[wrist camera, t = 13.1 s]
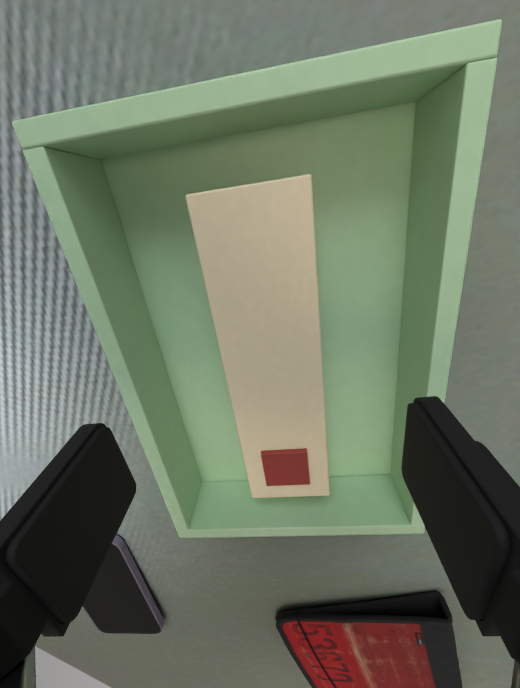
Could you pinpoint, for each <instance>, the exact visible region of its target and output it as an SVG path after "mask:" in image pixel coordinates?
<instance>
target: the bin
mask: <svg viewBox="0 0 520 688" xmlns="http://www.w3.org/2000/svg"><path fill="white" fill-rule="evenodd" d="M501 26H502V20H494V21H489V22H484V23H479V24H475V25H470V26H465V27H460V28H455V29H451V30H446V31H441V32H436V33H432V34H427V35H422V36H417V37H412V38H408V39H403V40H398V41H393V42H389V43H384V44H379V45H374V46H369V47H365V48H360V49H355V50H350V51H346V52H341V53H336V54H331V55H327V56H322V57H317V58H312V59H307V60H303V61H298V62H293V63H288V64H284V65H279V66H274V67H269V68H264V69H260V70H255V71H250V72H245V73H241V74H236V75H231V76H226V77H221V78H217V79H212V80H207V81H202V82H198V83H193V84H188V85H183V86H178V87H174V88H169V89H164V90H159V91H155V92H150V93H145V94H140V95H135V96H131V97H126V98H121V99H116V100H112V101H107V102H102V103H97V104H92V105H88V106H83V107H78V108H73V109H69V110H64V111H59V112H54V113H50V114H45V115H40V116H35V117H30V118H26V119H21V120H16V121H13V122H12V125H13V128H14V130H15V133H16V135H17V138H18V140H19V143H20V145H21V147H22V148H23V149H24V150H23V154H24V156H25V159H26V161H27V164H28V166H29V169H30V171H31V174H32V176H33V178H34V181H35V183H36V186H37V188H38V191H39V193H40V196H41V198H42V201H43V203H44V206H45V208H46V210H47V213H48V215H49V218H50V220H51V223H52V225H53V228H54V230H55V233H56V235H57V238H58V240H59V242H60V245H61V247H62V250H63V252H64V255H65V257H66V260H67V262H68V265H69V267H70V270H71V272H72V274H73V277H74V279H75V282H76V284H77V287H78V289H79V292H80V294H81V297H82V299H83V302H84V304H85V306H86V309H87V311H88V314H89V316H90V319H91V321H92V324H93V326H94V329H95V331H96V334H97V336H98V338H99V341H100V343H101V346H102V348H103V351H104V353H105V356H106V358H107V361H108V363H109V366H110V368H111V370H112V373H113V375H114V378H115V380H116V383H117V385H118V388H119V390H120V393H121V395H122V398H123V400H124V402H125V405H126V407H127V410H128V412H129V415H130V417H131V420H132V422H133V425H134V427H135V430H136V432H137V434H138V437H139V439H140V442H141V444H142V447H143V449H144V452H145V454H146V457H147V459H148V462H149V464H150V466H151V469H152V471H153V474H154V476H155V479H156V481H157V484H158V486H159V489H160V491H161V494H162V496H163V498H164V501H165V503H166V506H167V508H168V511H169V513H170V516H171V518H172V521H173V523H174V526H175V528H176V530H177V532H178V535H179V537H180V538H209V537H265V536H321V535H377V534H423V533H424V530H425V526H424V523H423V521H422V519H421V517H420V515H419V512H418V510H417V508H416V506H415V504H414V501H413V499H412V497H411V495H410V493H409V490H408V488H407V486H406V484H405V482H404V479H403V476H402V470H401V466H402V456H403V446H404V436H405V425H406V415H407V406H408V404H409V403H413V401H414V399H415V398H418V397H430V396H437V397H439V398H440V399H441V401H442V402H443V403H444V402H445V396H446V389H447V383H448V376H449V370H450V363H451V357H452V350H453V344H454V337H455V331H456V324H457V318H458V311H459V305H460V298H461V292H462V285H463V279H464V272H465V266H466V259H467V253H468V246H469V240H470V233H471V227H472V220H473V214H474V207H475V201H476V194H477V188H478V181H479V175H480V168H481V162H482V156H483V149H484V143H485V136H486V130H487V123H488V117H489V110H490V104H491V97H492V91H493V84H494V78H495V71H496V65H497V58H495V57H496V55H497V53H498V46H499V40H500V33H501ZM307 174H310V175H311V176H312V190H313V207H314V225H315V242H316V260H317V277H318V294H319V312H320V329H321V347H322V364H323V381H324V399H325V416H326V434H327V451H328V468H329V486H330V495H329V496H301V497H272V498H252V495H251V491H250V486H249V482H248V477H247V473H246V468H245V464H244V459H243V455H242V450H241V446H240V441H239V437H238V432H237V428H236V423H235V419H234V414H233V410H232V405H231V401H230V396H229V392H228V387H227V383H226V378H225V374H224V369H223V365H222V360H221V356H220V351H219V346H218V342H217V337H216V333H215V328H214V324H213V319H212V315H211V310H210V306H209V301H208V297H207V292H206V288H205V283H204V279H203V274H202V270H201V265H200V261H199V256H198V252H197V247H196V243H195V238H194V234H193V229H192V225H191V220H190V216H189V211H188V207H187V202H186V198H185V197H186V195H187V194H192V193H198V192H204V191H210V190H216V189H222V188H228V187H234V186H240V185H246V184H252V183H258V182H264V181H271V180H277V179H283V178H289V177H295V176H301V175H307Z"/></svg>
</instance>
